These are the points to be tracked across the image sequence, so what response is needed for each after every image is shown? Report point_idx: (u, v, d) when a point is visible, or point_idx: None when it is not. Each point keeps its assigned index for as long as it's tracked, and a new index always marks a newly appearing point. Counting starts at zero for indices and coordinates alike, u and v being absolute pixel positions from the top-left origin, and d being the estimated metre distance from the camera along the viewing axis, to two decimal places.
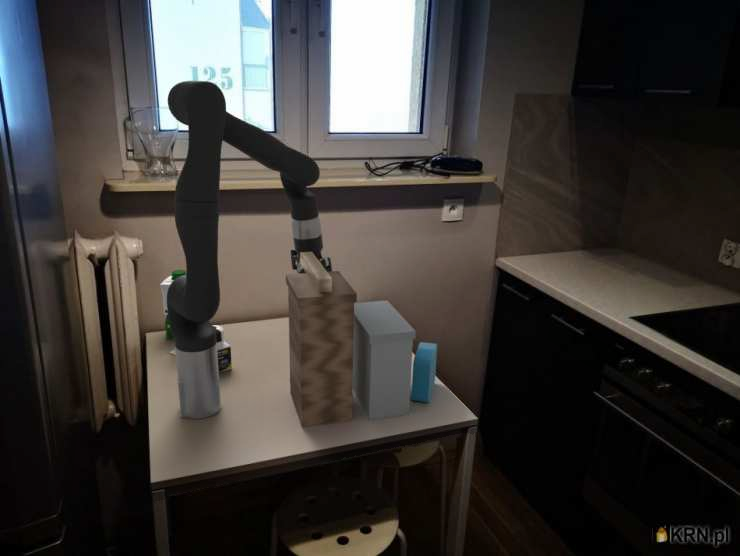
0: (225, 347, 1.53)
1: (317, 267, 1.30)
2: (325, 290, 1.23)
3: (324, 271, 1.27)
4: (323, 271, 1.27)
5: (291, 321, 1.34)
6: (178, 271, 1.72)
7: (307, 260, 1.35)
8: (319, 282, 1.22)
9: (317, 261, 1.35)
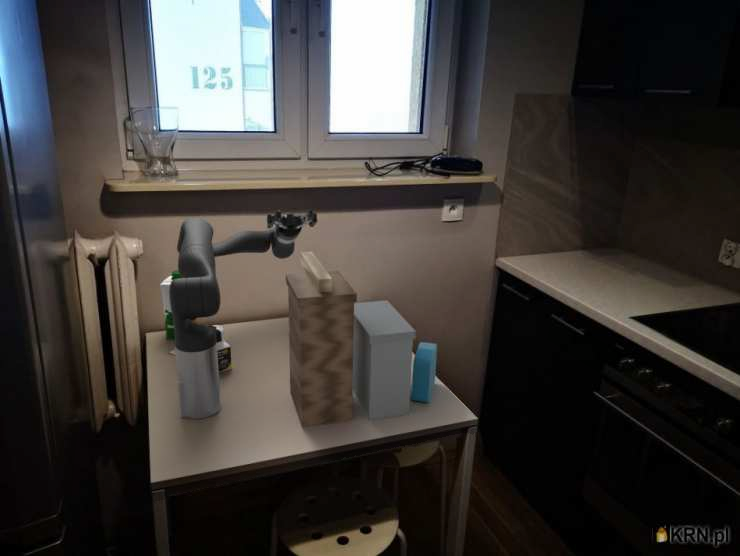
0: (225, 347, 1.53)
1: (317, 267, 1.30)
2: (325, 290, 1.23)
3: (324, 271, 1.27)
4: (323, 271, 1.27)
5: (291, 321, 1.34)
6: (178, 271, 1.72)
7: (307, 260, 1.35)
8: (319, 282, 1.22)
9: (317, 261, 1.35)
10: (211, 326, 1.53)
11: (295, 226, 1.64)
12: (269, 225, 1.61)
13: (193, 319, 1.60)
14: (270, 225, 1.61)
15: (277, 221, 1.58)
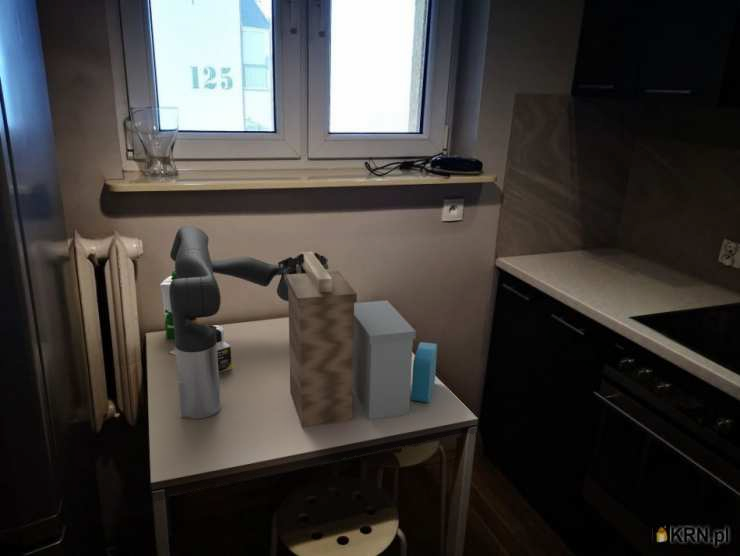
0: (225, 347, 1.53)
1: (317, 267, 1.30)
2: (325, 290, 1.23)
3: (324, 271, 1.27)
4: (323, 271, 1.27)
5: (291, 321, 1.34)
6: None
7: (307, 260, 1.35)
8: (319, 282, 1.22)
9: (317, 261, 1.35)
10: (211, 326, 1.53)
11: None
12: (286, 269, 1.43)
13: (193, 319, 1.60)
14: (286, 269, 1.44)
15: (300, 265, 1.41)
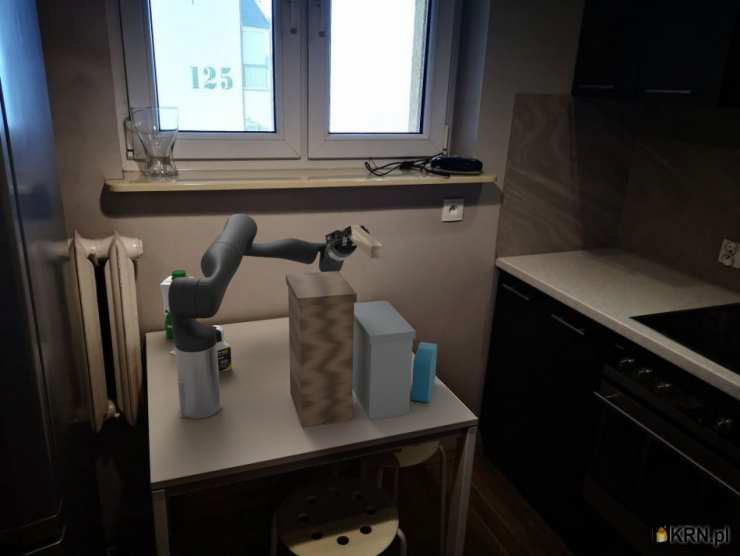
0: (225, 347, 1.53)
1: (366, 237, 1.42)
2: (376, 256, 1.35)
3: (374, 240, 1.40)
4: (373, 240, 1.40)
5: (291, 321, 1.34)
6: (178, 271, 1.72)
7: (355, 231, 1.47)
8: (371, 249, 1.34)
9: (365, 232, 1.47)
10: (211, 326, 1.53)
11: (351, 243, 1.59)
12: (333, 241, 1.55)
13: None
14: (333, 241, 1.56)
15: (346, 237, 1.53)
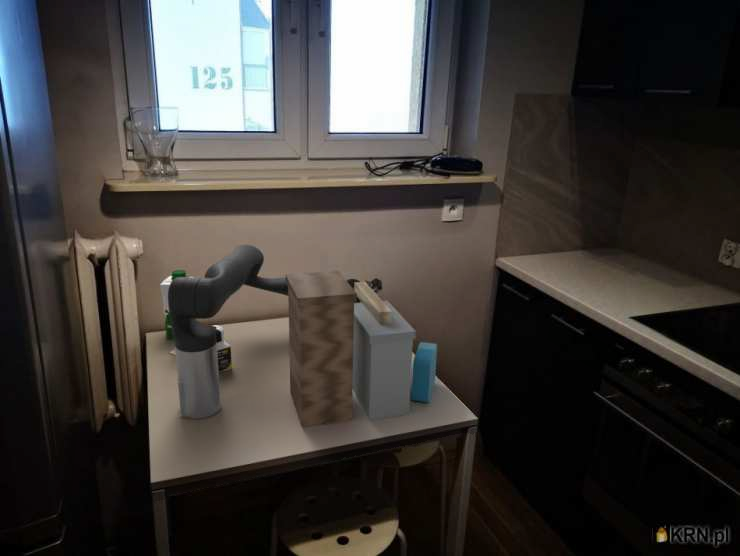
0: (225, 347, 1.53)
1: (374, 299, 1.39)
2: (385, 322, 1.33)
3: (382, 303, 1.37)
4: (381, 303, 1.37)
5: (291, 321, 1.34)
6: (178, 271, 1.72)
7: (363, 291, 1.45)
8: (380, 314, 1.32)
9: (373, 292, 1.44)
10: (211, 326, 1.53)
11: None
12: None
13: None
14: None
15: None
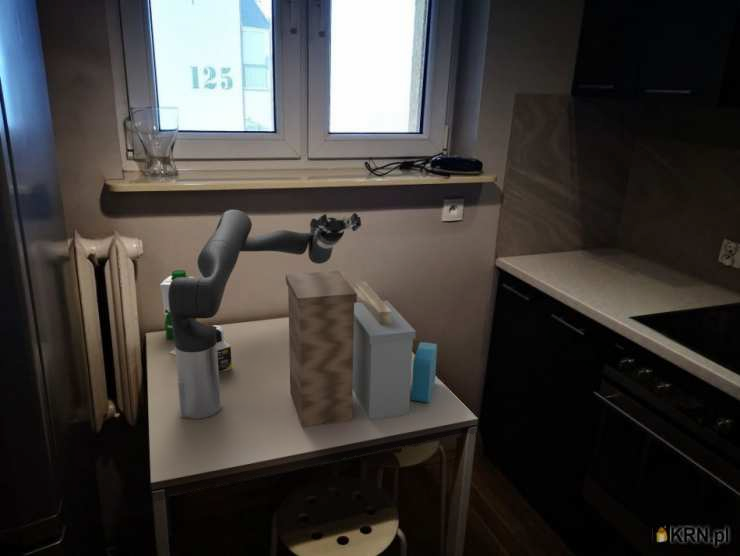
0: (225, 347, 1.53)
1: (374, 299, 1.39)
2: (385, 322, 1.33)
3: (382, 303, 1.37)
4: (381, 303, 1.37)
5: (291, 321, 1.34)
6: (178, 271, 1.72)
7: (363, 291, 1.45)
8: (380, 314, 1.32)
9: (373, 292, 1.44)
10: (211, 326, 1.53)
11: (338, 230, 1.62)
12: (313, 229, 1.59)
13: None
14: (314, 230, 1.60)
15: (322, 225, 1.57)
